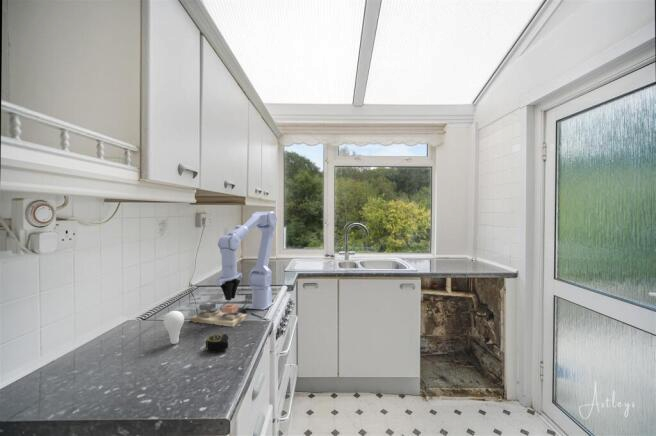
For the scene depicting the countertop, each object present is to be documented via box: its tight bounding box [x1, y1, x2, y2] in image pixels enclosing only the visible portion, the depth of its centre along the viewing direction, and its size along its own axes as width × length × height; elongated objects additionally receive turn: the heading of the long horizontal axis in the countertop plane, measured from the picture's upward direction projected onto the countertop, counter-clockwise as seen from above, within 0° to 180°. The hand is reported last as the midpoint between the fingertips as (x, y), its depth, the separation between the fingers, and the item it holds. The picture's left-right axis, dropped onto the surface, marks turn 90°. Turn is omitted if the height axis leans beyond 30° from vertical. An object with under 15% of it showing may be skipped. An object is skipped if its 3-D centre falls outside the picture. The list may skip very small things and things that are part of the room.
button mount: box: [189, 309, 248, 328], centre depth 122 cm, size 10×20×2 cm, turn 73°
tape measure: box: [205, 333, 229, 353], centre depth 96 cm, size 7×7×4 cm
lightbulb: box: [163, 310, 185, 345], centre depth 100 cm, size 6×6×11 cm
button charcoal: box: [198, 301, 217, 311], centre depth 124 cm, size 4×4×2 cm
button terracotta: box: [221, 303, 239, 313], centre depth 120 cm, size 4×4×2 cm
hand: (230, 299), depth 120 cm, fingers closed
